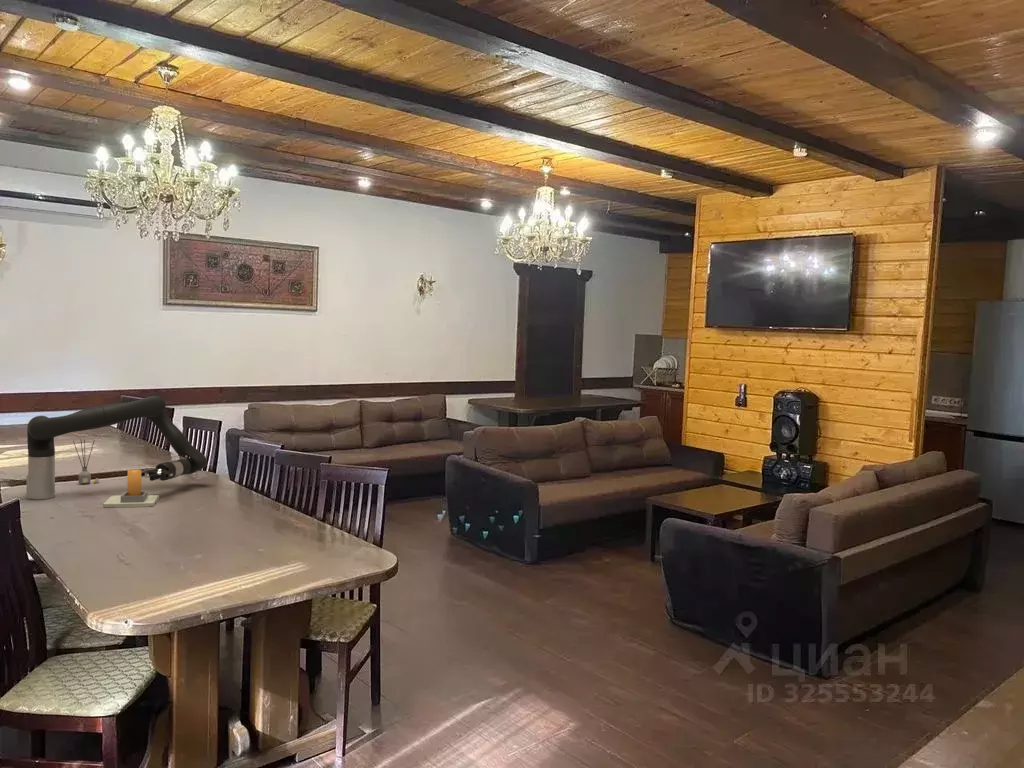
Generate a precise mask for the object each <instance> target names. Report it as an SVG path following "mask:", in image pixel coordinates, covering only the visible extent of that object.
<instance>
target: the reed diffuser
mask: <svg viewBox="0 0 1024 768" xmlns="http://www.w3.org/2000/svg"><path fill="white" fill-rule="evenodd" d="M72 442H73V445H74V448H75V450H76V453H77V456H78V458H79V462H80V464H81V472H79V473H78V477H77V478H78V483H79V484H89V483H91V478H92V476H91V474H92V473H91V472H89V471H88V464H89V460H90V457H91V455H92V454H91V453H92V451H93V447H94V444H95V439H93V442H92V445H91V449H90V452H89V456H88V459H87V462H86V463H85V457H86V439H83V443H82V439H80V447H81V453H82V460H81V458H80V455H79V451H78V449H77V445H76V444H75V441H74V440H73V441H72ZM83 444H84V446H83ZM83 448H84V450H83ZM82 461H83V463H82ZM92 482H93V483H94V484H99V483H100V479H99V478H97V477H96V478H95V479H94V480H92Z"/></svg>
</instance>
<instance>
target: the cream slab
mask: <svg viewBox="0 0 1024 768" xmlns="http://www.w3.org/2000/svg"><path fill="white" fill-rule="evenodd" d="M148 493H149V492H148V490H147V491H146V490H145V491H142V490H141V496H127V491H124V492H123V494H121V495H110V496H109V498H108V499H107V500H106V501H105V502H104V503H102V508H103V509H107V508H106V507H121V508H148V507H147V506H153V507H155V505H156V504H157V502H158V501H159V500H158V499H160V494H152V495H151V494H148ZM155 503H156V504H155ZM145 506H146V507H145ZM104 507H105V508H104Z"/></svg>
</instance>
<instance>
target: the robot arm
mask: <svg viewBox="0 0 1024 768" xmlns="http://www.w3.org/2000/svg"><path fill="white" fill-rule="evenodd" d="M165 410H166V401H165V400H164V399H163V398H162V397H161V396H158V395H148V396H146V397H144V398H140V399H137V400H133V401H128V402H117V403H116V402H115V403H109V404H108V403H107V404H101V405H95V406H90V407H88V408H87V407H86V408H84V409H83V408H82V410H81V409H80V410H78V411H75V412H73V413H70V414H65V415H62V416H61V415H60V416H54V417H48V416H46V415H36V416H35V417H32V418H31V419H30V420H29V421H28V424H27V430H26V433H27V434H26V435H27V436H26V437H27V443H26V444H27V464H28V465H27V469H28V470H27V475H26V476H25V478H26V480H25V481H26V485H25V486H26V494H25V495H26V498H25V499H26V500H27V499H28V500H47V499H48V500H49V499H51V498H52V499H53V498H54V497H55V496H56V494H55V493H56V489H55V488H56V478H55V477H56V461H55V460H56V449H55V438H56V437H58V436H59V437H60V436H62V435H66V434H70V433H75V432H84V431H90V430H96V429H100V428H105V427H110V426H113V425H116V424H117V425H118V424H120V423H124V422H127V421H130V420H134V419H139V418H148V420H150V421H151V422H152V423H153V425H154V426H156V428H157V429H158V430H159V432H160V433H161V434H162V435H163V437H164V438H165V439H166V441H167V442H168V443H169V445H170V447H171V448H172V449H173V450H174V452H175V453H176V454H177V455H178V456H179V457H184V456H186V457H188V458H181V459H175V460H169V461H164V462H161V463H158V464H157V465H156V466H155V467H153V468H149V469H148V468H142V469H140V470H141V478H145V479H149V481H150V482H152V481H157V480H159V481H162V482H163V481H165V482H166V481H167V480H168V481H169V480H172V479H175V478H177V477H180V476H181V477H182V476H184V475H192V474H194V473H197V472H198V471H200V470H203V469H204V468H206V467H207V464H208V460H207V457H206V456H205V454H203V452H202V451H199V449H198V448H196V447H194V446H193V445H192V443H191V442H190V441H189V439H188V438H187V436H185V434H184V433H183V432H182V431H181V430H180V429H179V427H177V425H175V424H174V423H173V421H172V420H171V419H170V418H169V416H168V414H167V413H166V411H165Z"/></svg>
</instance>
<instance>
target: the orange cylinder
mask: <svg viewBox="0 0 1024 768" xmlns="http://www.w3.org/2000/svg"><path fill="white" fill-rule="evenodd" d="M126 489H127V491H126V492H127V496H141V492H142V477H141V469H128V470H127V488H126Z"/></svg>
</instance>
